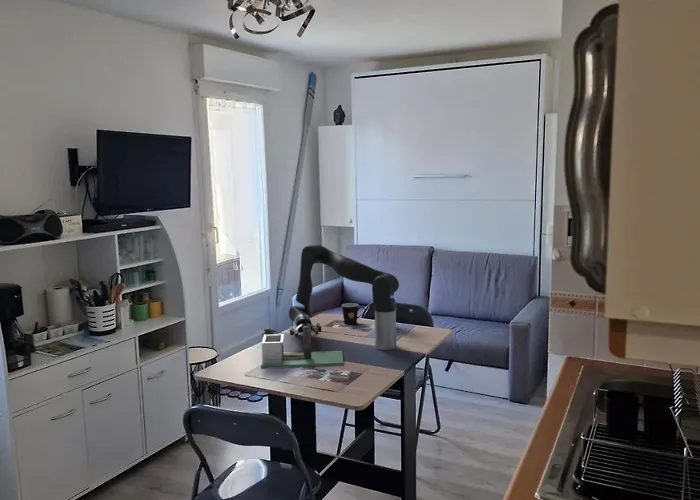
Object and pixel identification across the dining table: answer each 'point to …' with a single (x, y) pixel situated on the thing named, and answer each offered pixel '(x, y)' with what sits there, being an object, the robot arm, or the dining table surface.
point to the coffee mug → (351, 313)
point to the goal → (272, 349)
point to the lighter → (269, 332)
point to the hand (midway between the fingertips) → (307, 334)
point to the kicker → (306, 345)
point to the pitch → (310, 360)
